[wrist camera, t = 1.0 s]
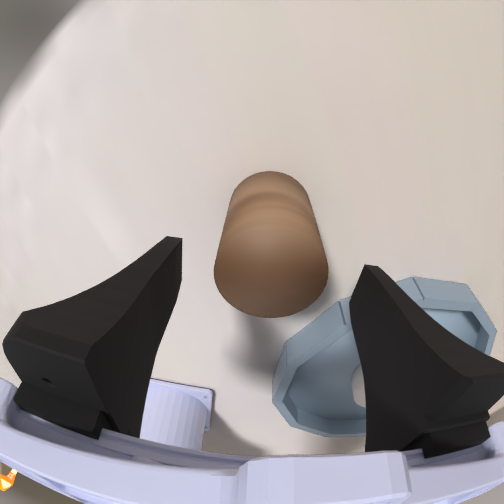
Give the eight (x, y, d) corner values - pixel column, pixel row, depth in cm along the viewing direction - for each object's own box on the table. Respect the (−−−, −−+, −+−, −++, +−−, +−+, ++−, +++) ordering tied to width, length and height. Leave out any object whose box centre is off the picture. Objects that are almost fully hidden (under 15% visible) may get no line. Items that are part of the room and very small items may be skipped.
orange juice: (-1, 446, 79) (-13, 480, 62) (9, 452, 78) (-3, 487, 61) (10, 455, 83) (-1, 487, 66) (21, 460, 82) (9, 494, 65)
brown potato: (300, 249, 18) (311, 322, 13) (225, 238, 18) (210, 310, 13) (318, 179, 16) (342, 235, 11) (234, 165, 16) (218, 217, 11)
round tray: (418, 415, 30) (422, 429, 29) (258, 416, 30) (258, 434, 28) (517, 291, 20) (529, 307, 18) (310, 262, 19) (314, 285, 17)
